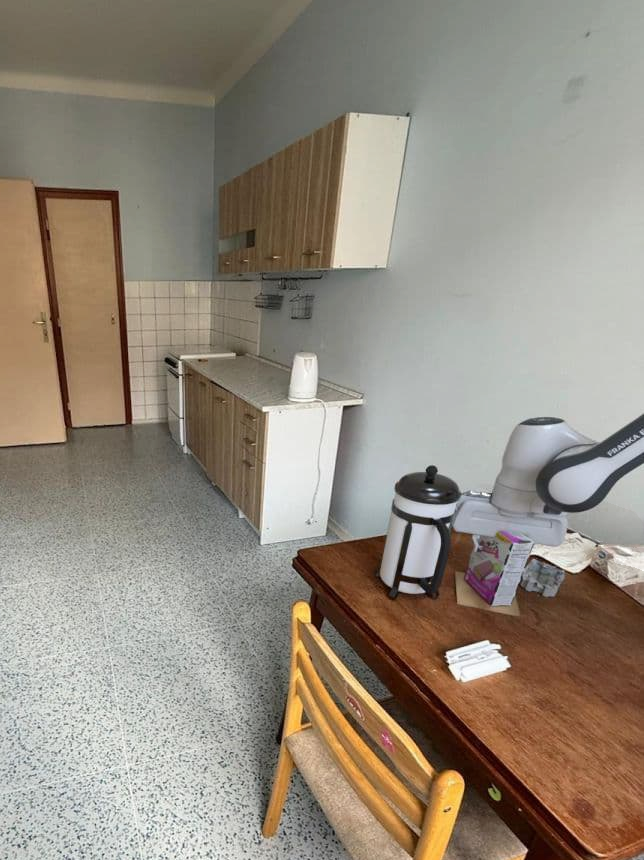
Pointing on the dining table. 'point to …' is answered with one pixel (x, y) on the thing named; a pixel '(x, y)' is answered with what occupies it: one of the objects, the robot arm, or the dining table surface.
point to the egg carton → (542, 578)
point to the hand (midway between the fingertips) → (497, 554)
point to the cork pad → (479, 598)
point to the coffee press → (419, 533)
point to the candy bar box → (499, 566)
